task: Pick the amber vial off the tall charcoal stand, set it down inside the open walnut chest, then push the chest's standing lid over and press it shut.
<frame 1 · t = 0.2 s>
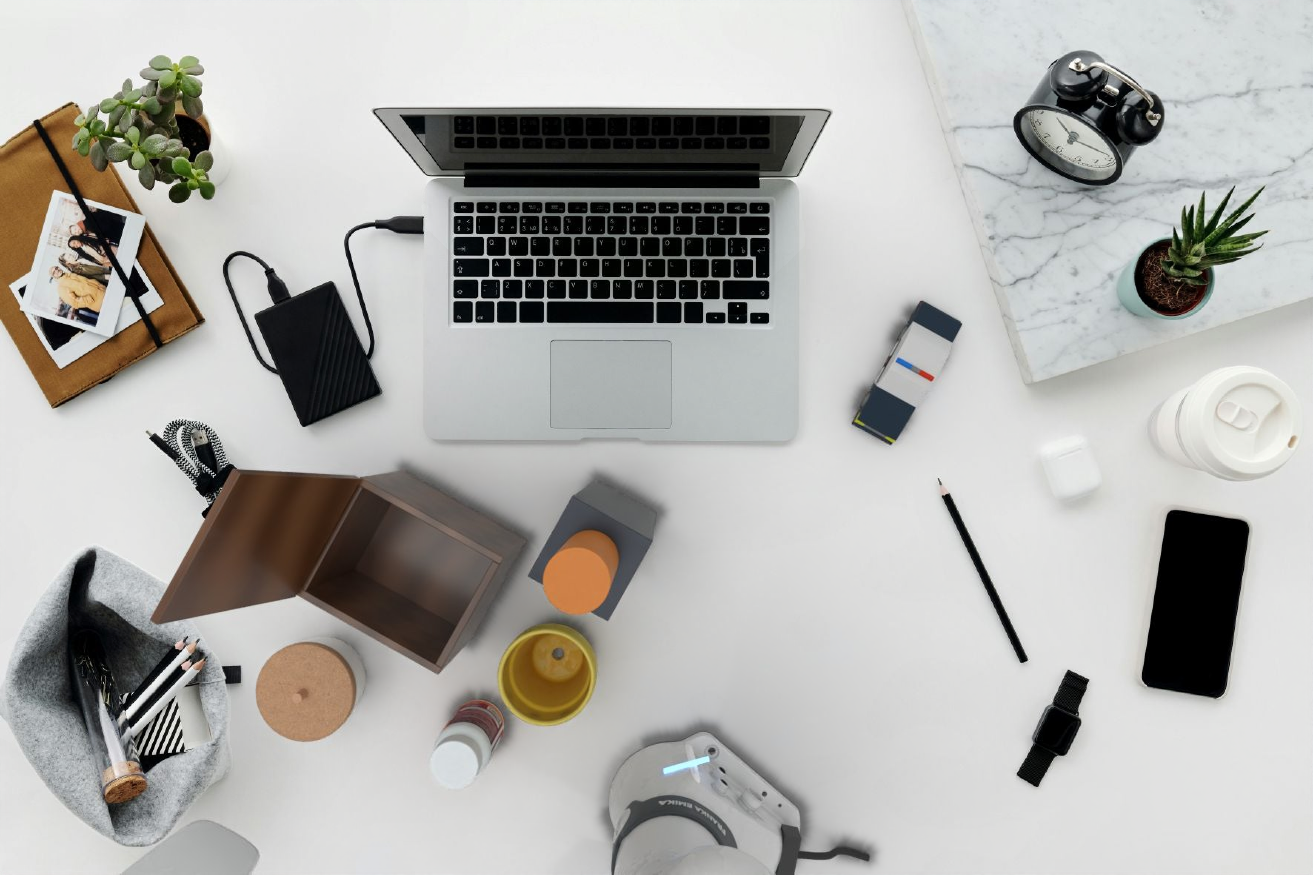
stand: (610, 525, 91), on the table
chest: (437, 554, 92), on the table
trinket box: (335, 670, 92), on the table
toy car: (901, 374, 91), on the table
flower pot: (558, 651, 92), on the table
pill bottle: (479, 723, 92), on the table
chest lid: (267, 540, 69), point 22 cm above the table, hinge at 100.0°
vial: (590, 558, 67), point 24 cm above the table, touching stand
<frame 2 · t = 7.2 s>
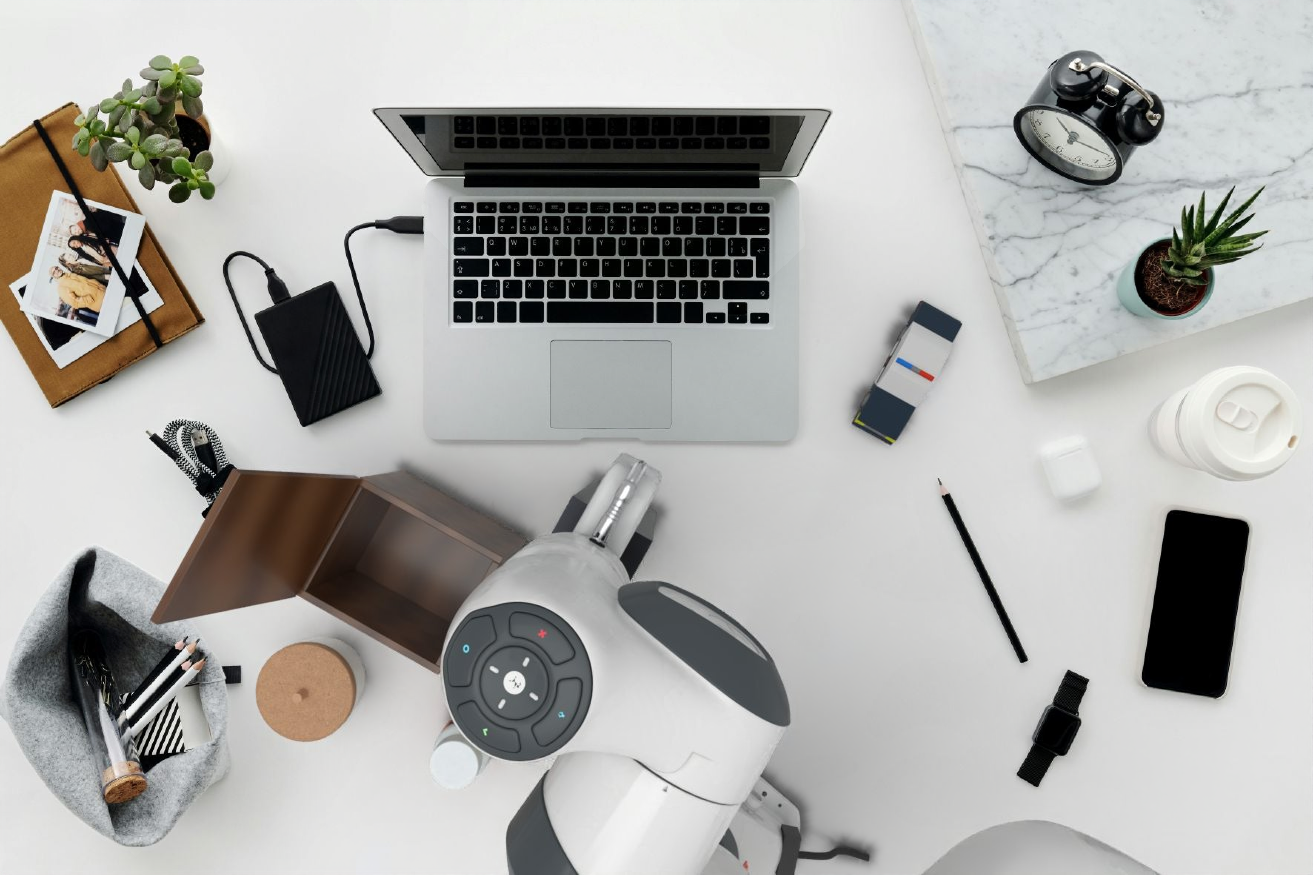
hand: (585, 566, 64), 28 cm above the table, tool pointing down, fingers closed on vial, 5 cm apart
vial: (590, 558, 67), point 24 cm above the table, touching gripper, stand
everything else where it was.
when the fingers open (6 cm above the table, at t = 18.6 s): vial stays where it is, resting on chest.
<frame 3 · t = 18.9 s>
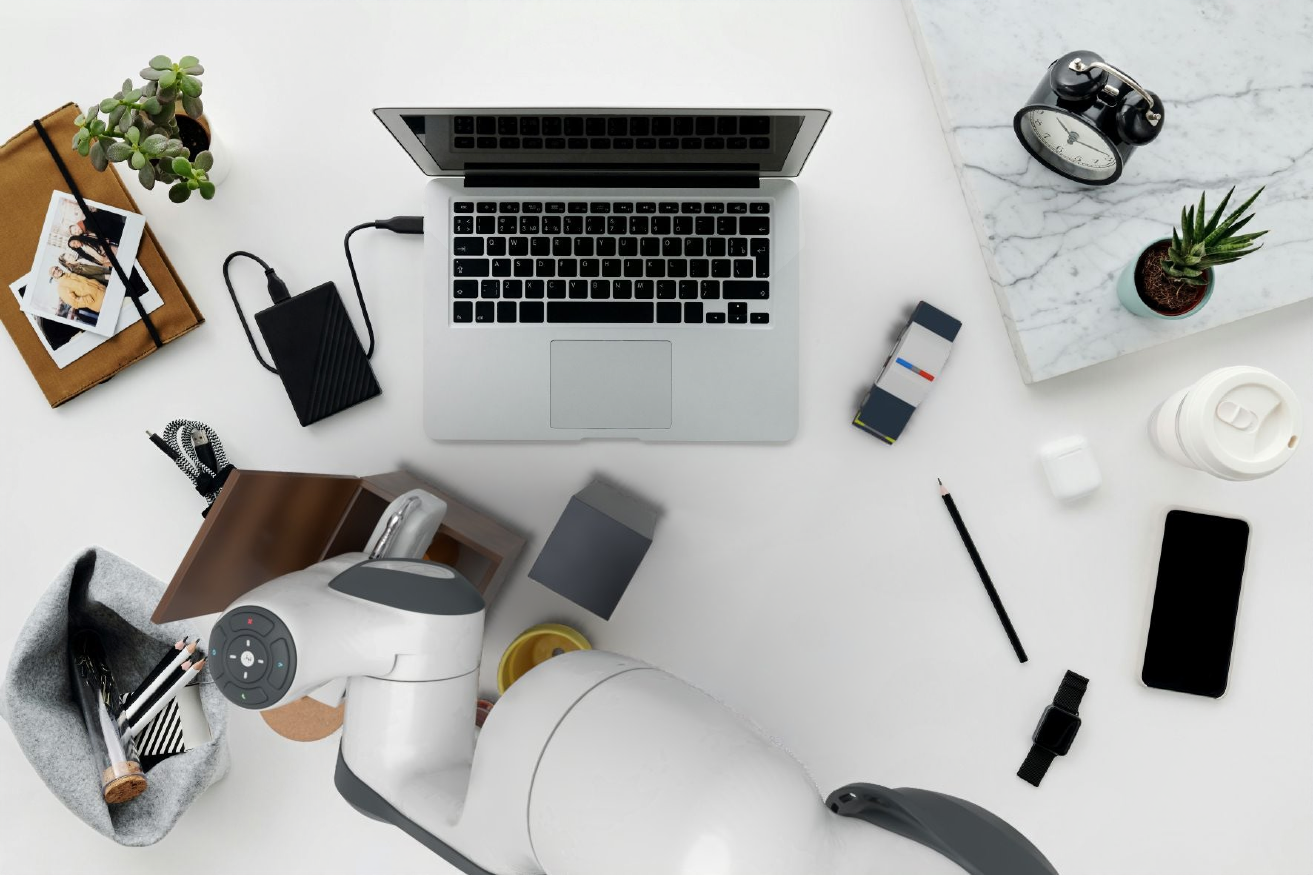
hand: (406, 576, 81), 11 cm above the table, tool pointing down, fingers open, 7 cm apart
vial: (437, 553, 91), point 1 cm above the table, touching chest
everything else where it was.
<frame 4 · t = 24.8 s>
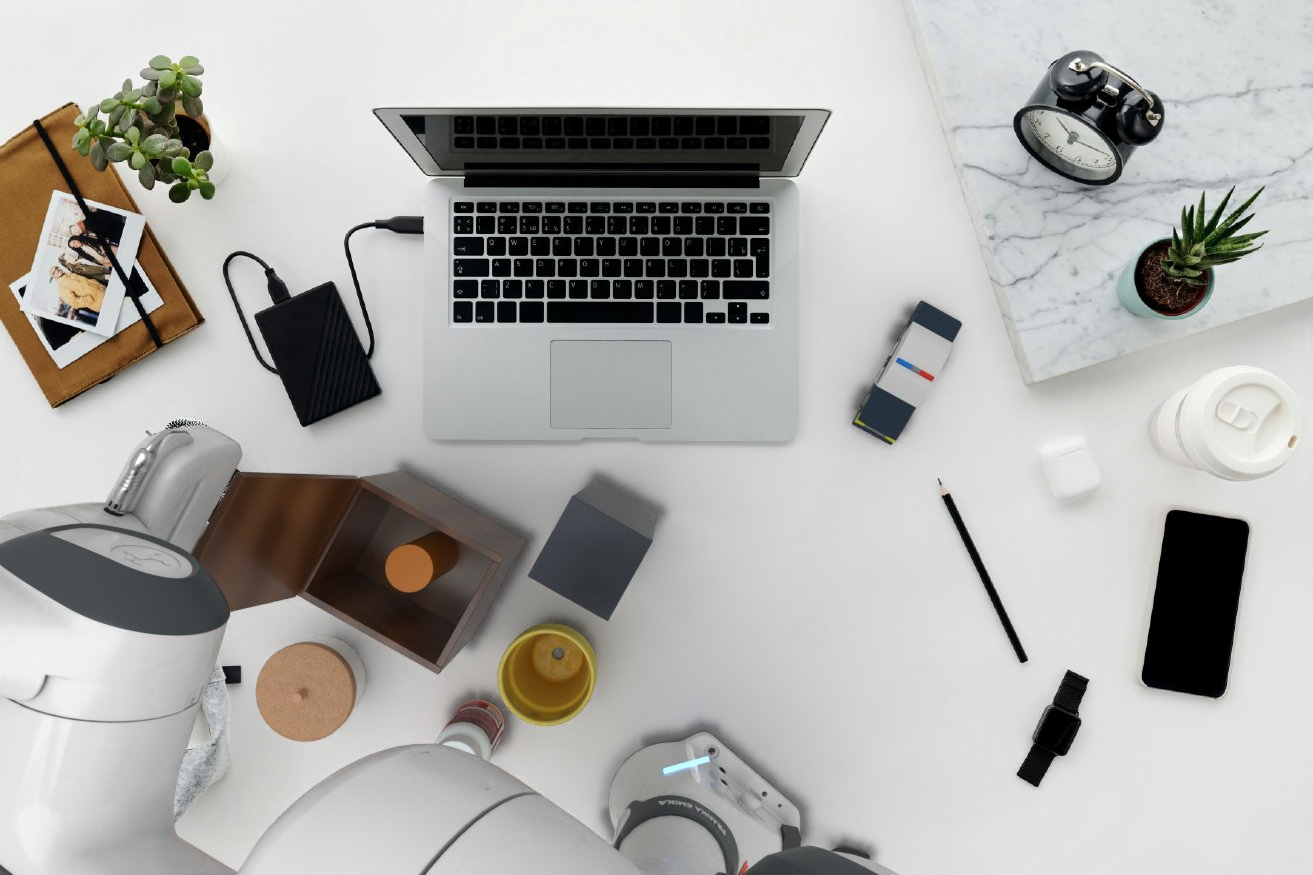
hand: (204, 541, 64), 28 cm above the table, tool pointing down, fingers closed
chest lid: (269, 542, 69), point 22 cm above the table, hinge at 98.6°, touching gripper
everything else where it was.
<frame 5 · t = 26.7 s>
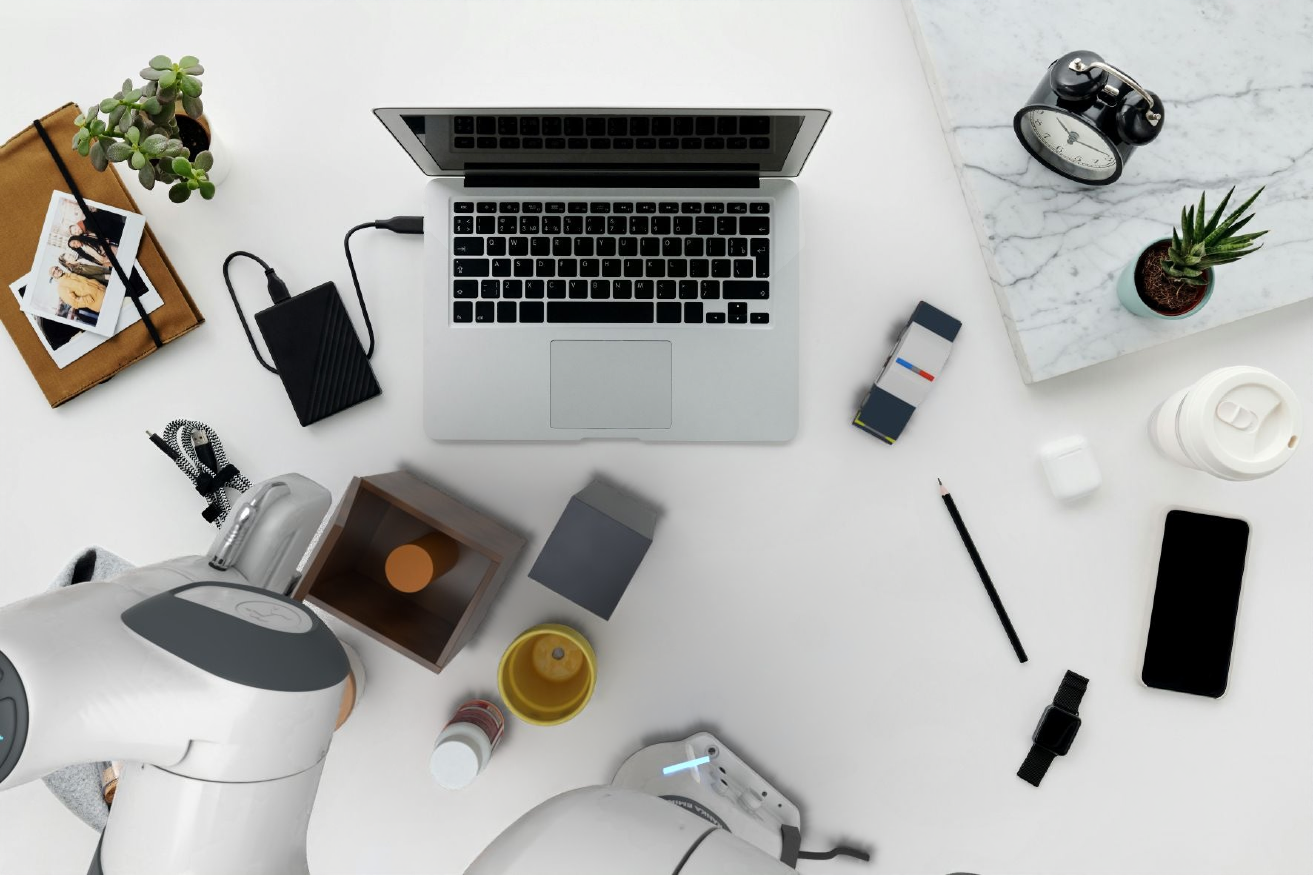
hand: (286, 584, 64), 28 cm above the table, tool pointing down, fingers closed
chest lid: (313, 564, 70), point 22 cm above the table, hinge at 70.6°, touching gripper
everything else where it was.
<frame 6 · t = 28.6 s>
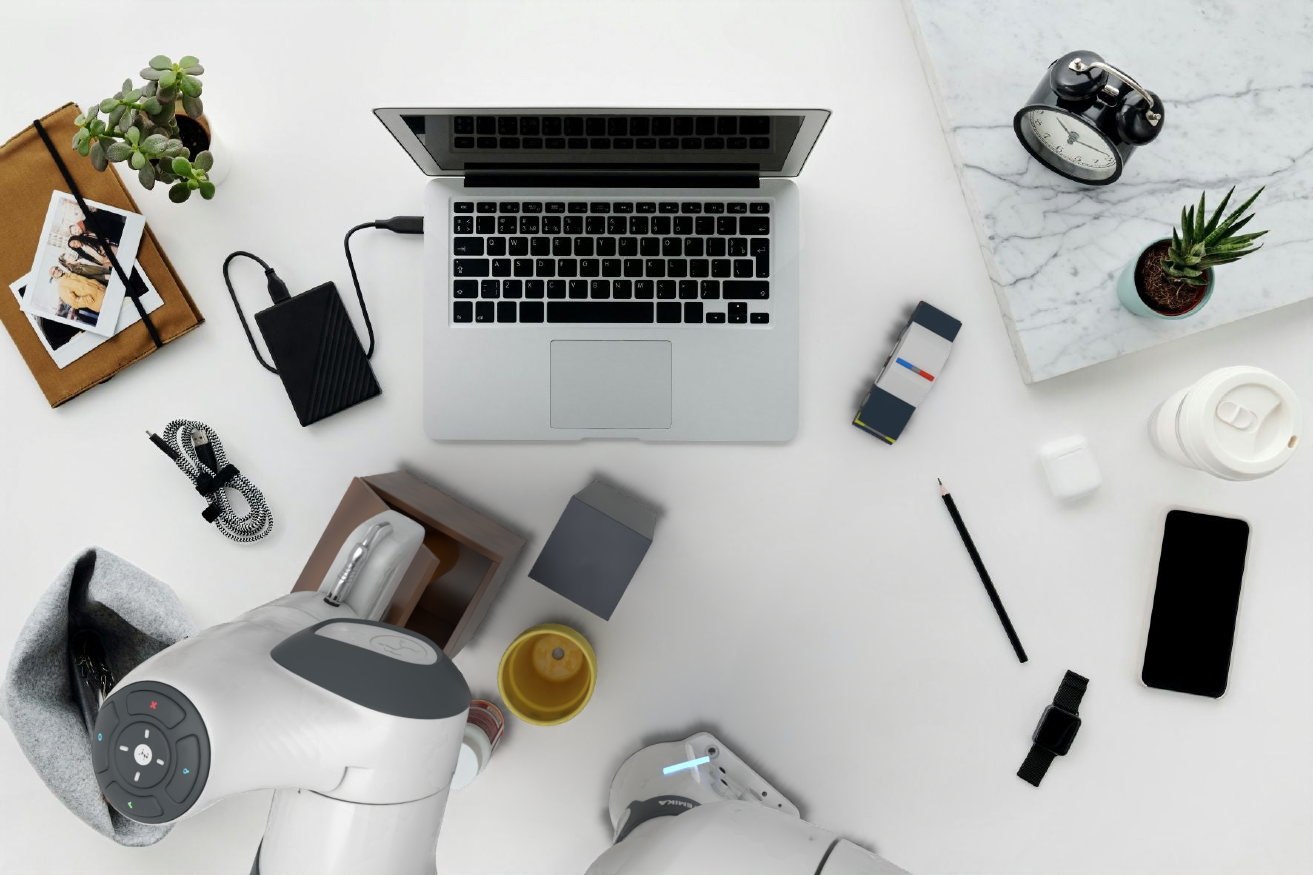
hand: (374, 612, 67), 24 cm above the table, tool pointing down, fingers closed, pressing on chest lid
chest lid: (358, 579, 72), point 20 cm above the table, hinge at 41.9°, touching gripper
everything else where it was.
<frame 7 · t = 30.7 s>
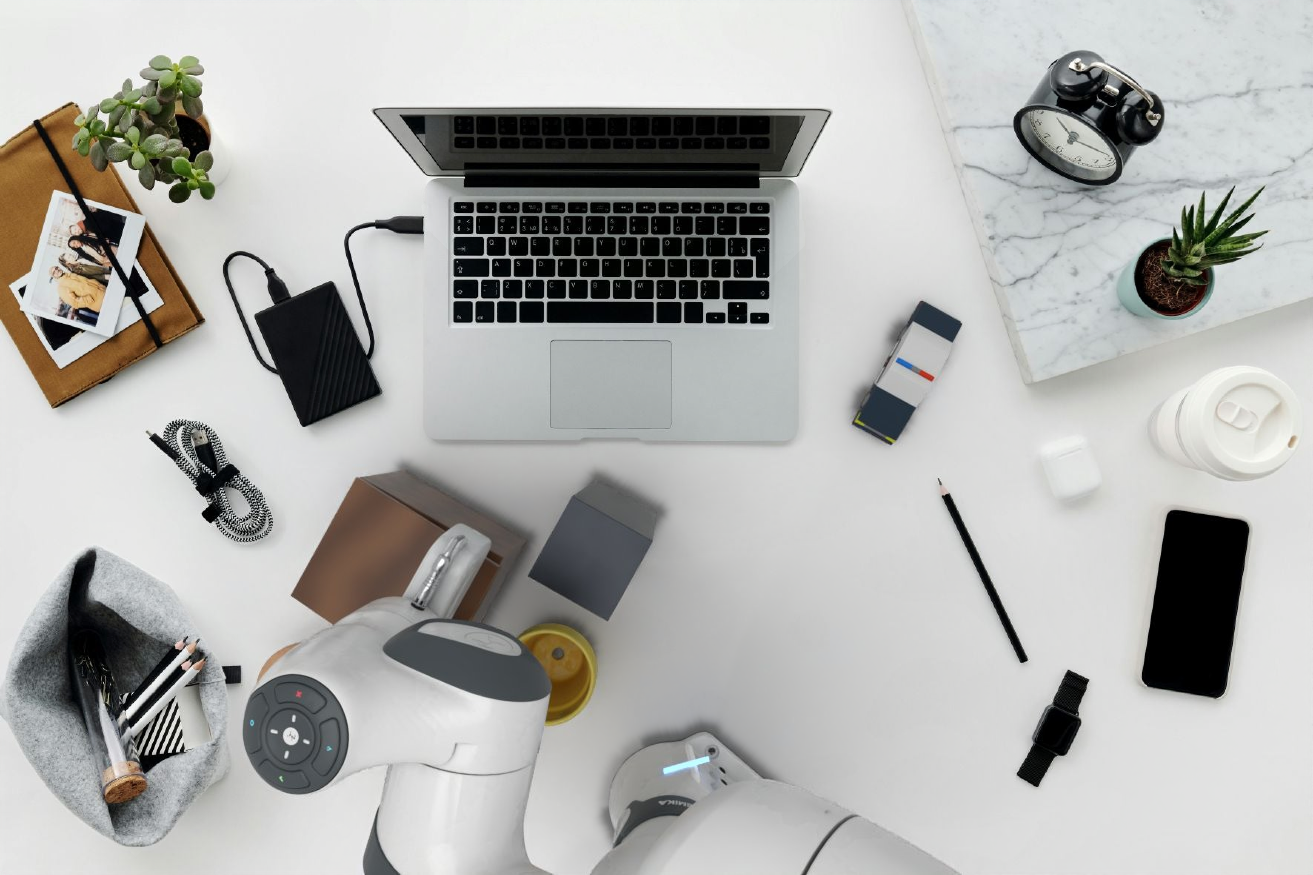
hand: (439, 615, 75), 17 cm above the table, tool pointing down, fingers closed, pressing on chest lid
chest lid: (394, 581, 76), point 15 cm above the table, hinge at 10.9°, touching gripper
everything else where it was.
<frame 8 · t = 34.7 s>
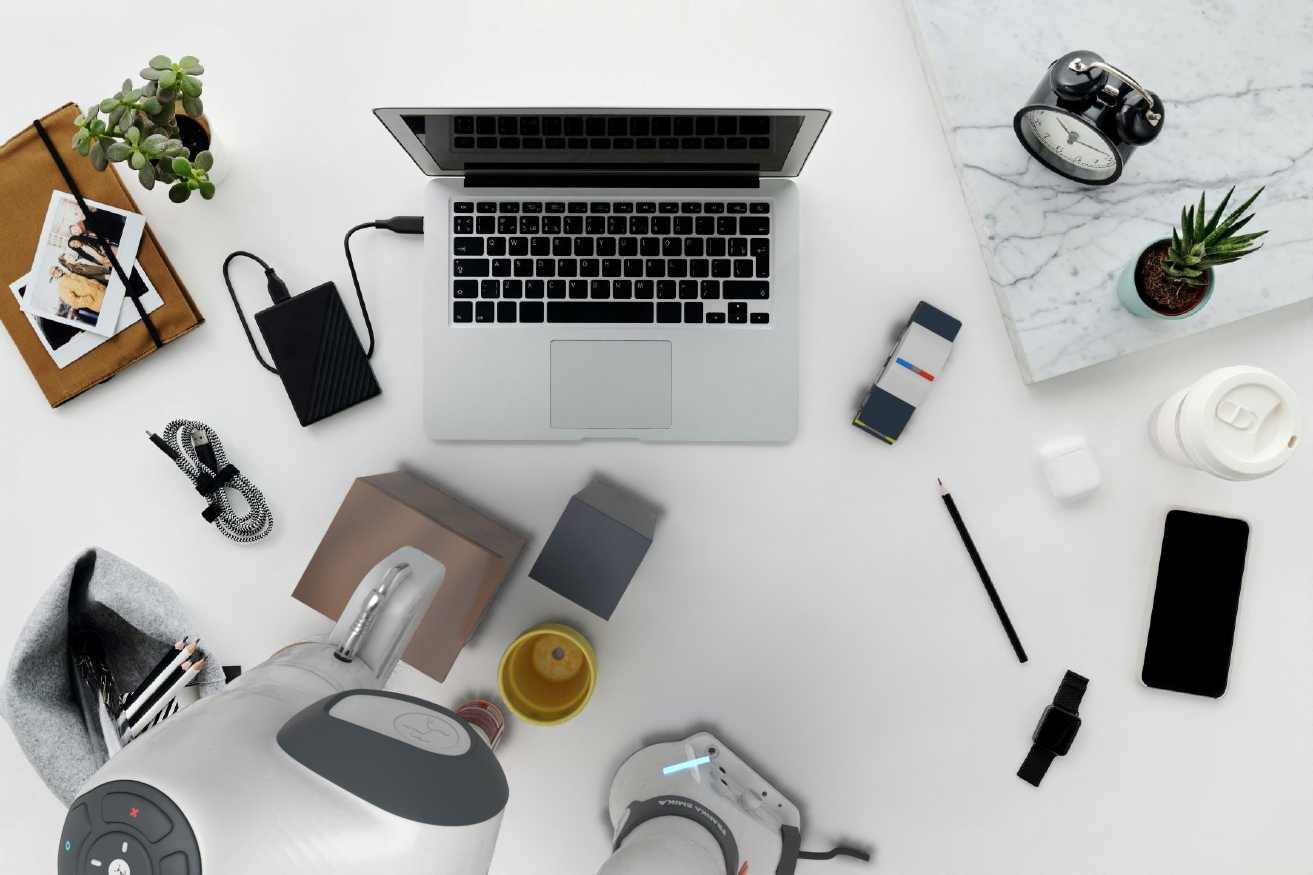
hand: (387, 655, 61), 31 cm above the table, tool pointing down, fingers closed
chest lid: (400, 579, 78), point 14 cm above the table, hinge at 1.9°
everything else where it was.
at the end: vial inside the target area in the chest (0.4 cm from its centre), point 0.8 cm above the chest's base; chest lid at +2° (first picture: +100°) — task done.
